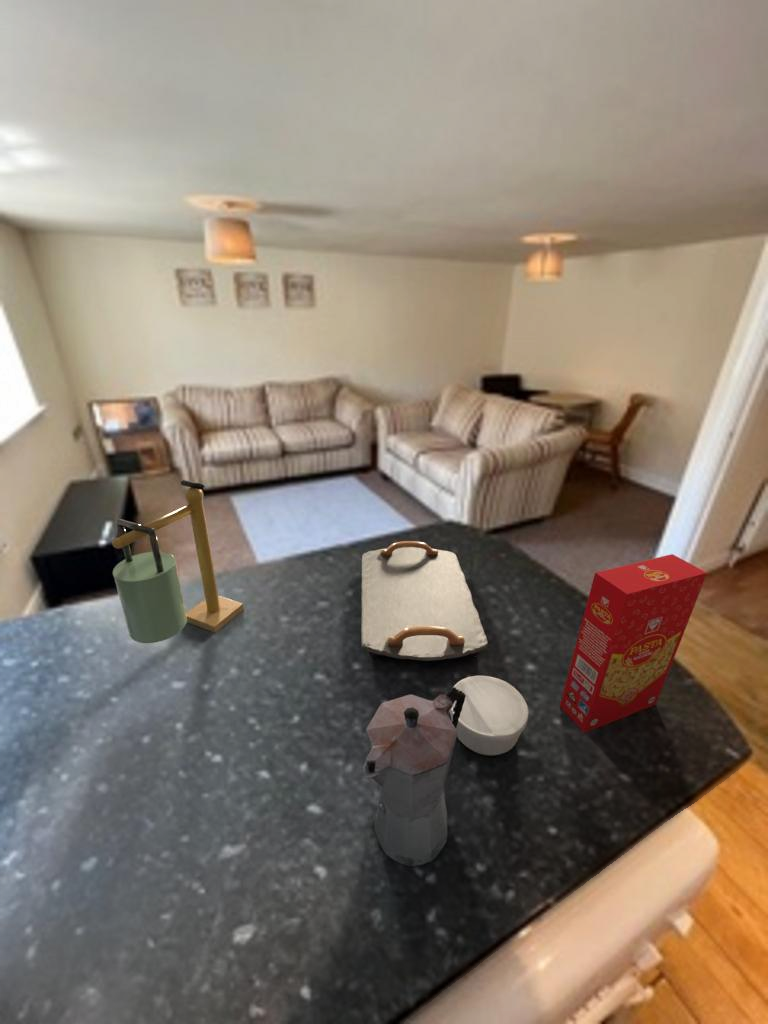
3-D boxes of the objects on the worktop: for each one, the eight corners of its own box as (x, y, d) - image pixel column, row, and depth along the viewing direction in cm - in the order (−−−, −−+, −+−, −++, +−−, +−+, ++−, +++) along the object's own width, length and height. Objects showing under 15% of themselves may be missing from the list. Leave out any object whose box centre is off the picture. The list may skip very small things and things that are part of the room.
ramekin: (431, 732, 66) (434, 706, 64) (469, 687, 74) (473, 663, 72) (501, 780, 60) (506, 753, 57) (534, 725, 67) (540, 700, 65)
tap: (129, 661, 78) (87, 512, 66) (213, 599, 94) (192, 471, 82) (163, 676, 75) (125, 523, 63) (244, 609, 91) (226, 478, 79)
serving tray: (361, 556, 111) (361, 534, 109) (453, 555, 113) (455, 534, 110) (360, 672, 76) (360, 644, 74) (494, 670, 78) (498, 642, 75)
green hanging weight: (117, 633, 75) (86, 529, 66) (161, 604, 82) (139, 507, 74) (155, 649, 71) (129, 542, 63) (198, 617, 79) (179, 518, 71)
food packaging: (584, 732, 67) (627, 594, 56) (559, 705, 71) (595, 572, 60) (655, 704, 72) (707, 572, 61) (628, 681, 76) (672, 554, 65)
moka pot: (337, 842, 52) (333, 722, 44) (420, 755, 63) (430, 644, 54) (399, 912, 46) (408, 788, 38) (479, 803, 57) (500, 687, 48)
